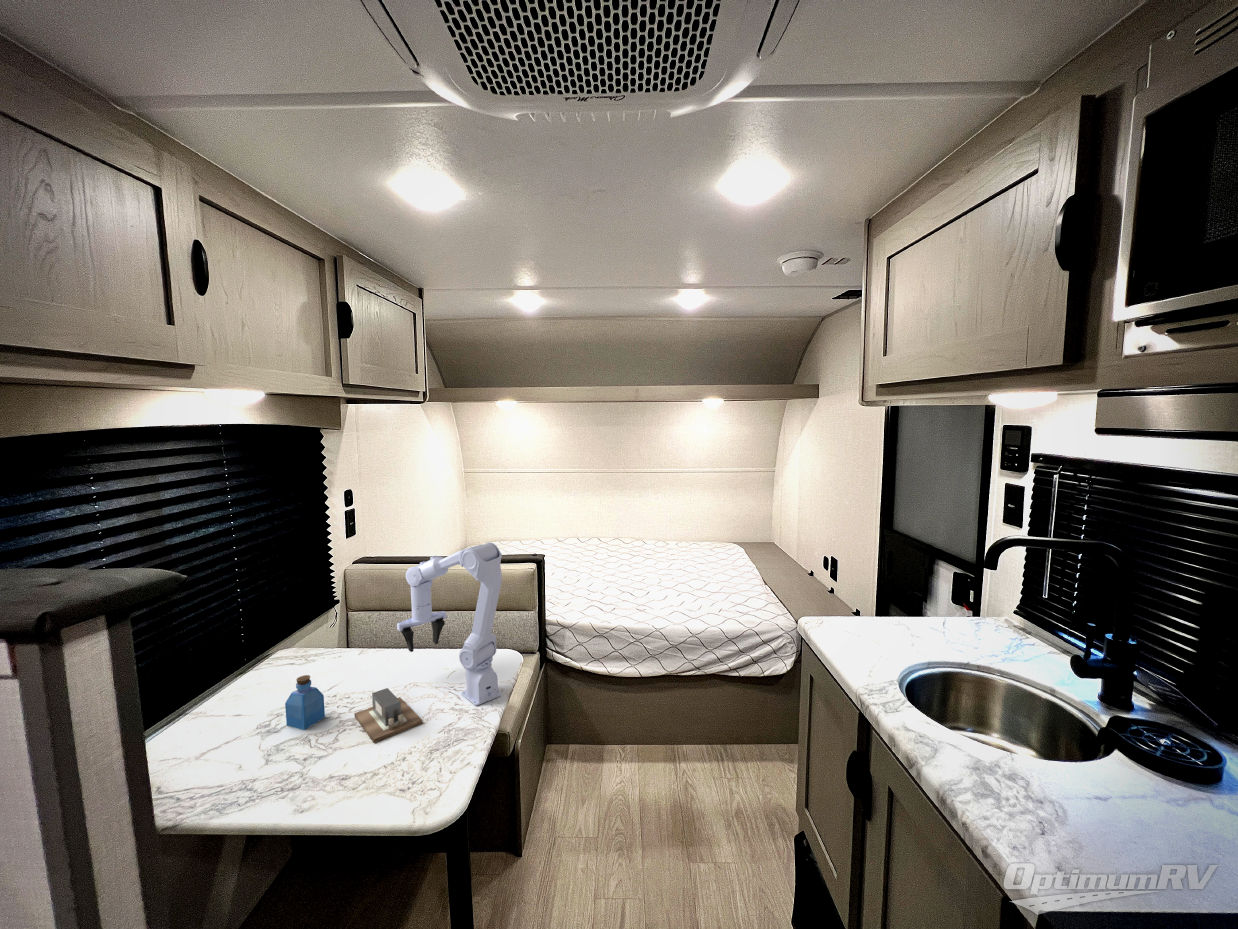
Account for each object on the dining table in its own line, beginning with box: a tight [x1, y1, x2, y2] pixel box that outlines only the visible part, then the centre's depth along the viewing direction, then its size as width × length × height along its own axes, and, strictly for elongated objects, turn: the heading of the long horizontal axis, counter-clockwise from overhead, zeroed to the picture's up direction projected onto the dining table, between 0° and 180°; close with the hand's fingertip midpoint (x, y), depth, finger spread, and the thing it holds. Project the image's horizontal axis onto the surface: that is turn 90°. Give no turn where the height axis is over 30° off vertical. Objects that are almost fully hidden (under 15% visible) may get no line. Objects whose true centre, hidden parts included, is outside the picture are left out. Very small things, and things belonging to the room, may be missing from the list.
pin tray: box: [354, 696, 423, 744], centre depth 135 cm, size 16×12×4 cm
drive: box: [371, 687, 401, 726], centre depth 136 cm, size 10×4×5 cm, turn 43°
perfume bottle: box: [284, 674, 326, 731], centre depth 135 cm, size 6×6×12 cm
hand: (423, 647), depth 157 cm, fingers open, 7 cm apart
